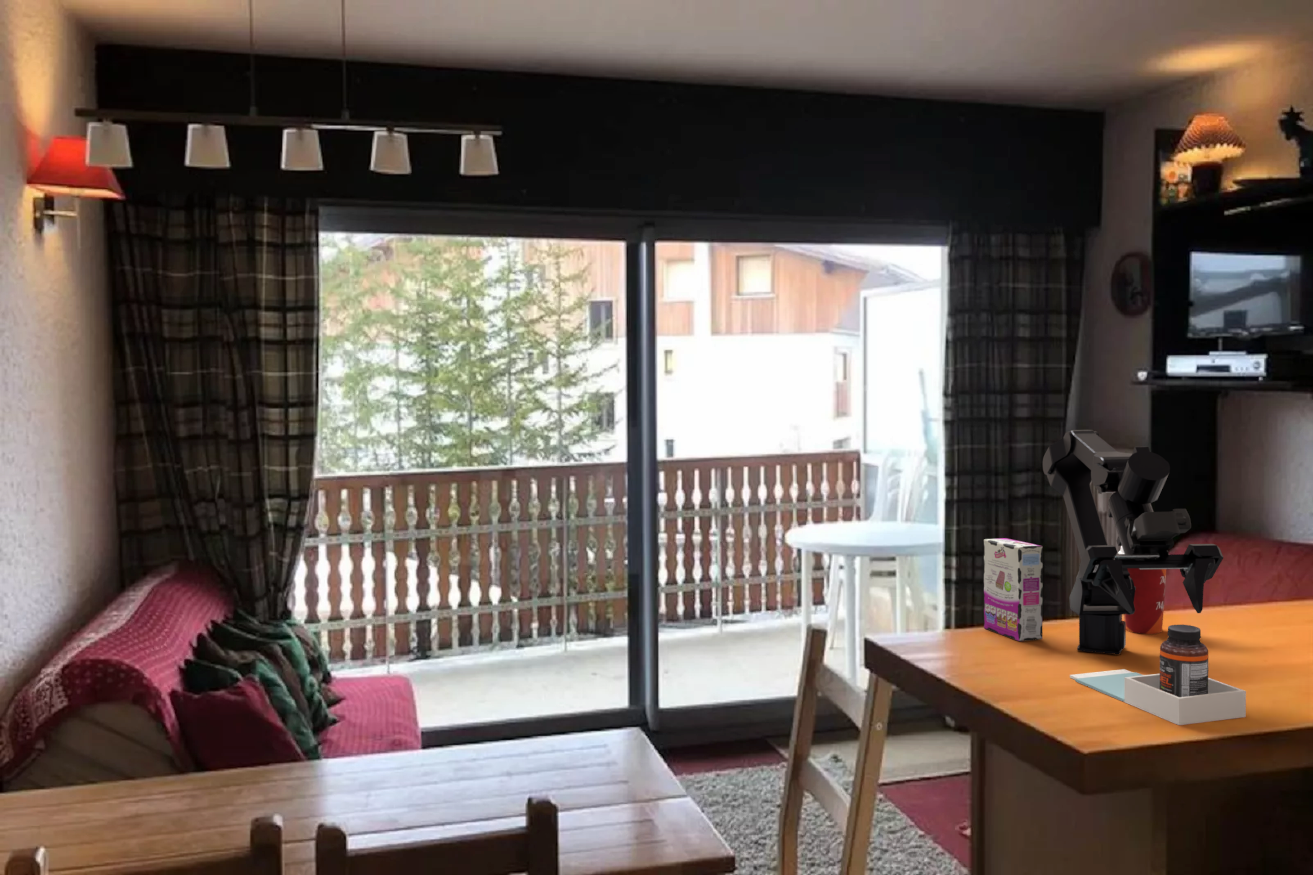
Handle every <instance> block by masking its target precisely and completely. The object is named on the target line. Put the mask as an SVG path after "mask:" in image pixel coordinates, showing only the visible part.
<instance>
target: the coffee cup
mask: <svg viewBox="0 0 1313 875" xmlns="http://www.w3.org/2000/svg"><path fill="white" fill-rule="evenodd" d="M1117 554H1124V550H1123V547H1122V546H1120V550H1119V551H1117ZM1127 569H1128V572H1129V573H1130V578H1132V580H1133V582H1134V586H1135V587H1136V590H1135V597H1134V607H1135V612H1134V614H1131V615H1127V614H1123V621H1125V622H1126V632H1130V633H1134V634H1139V635H1154V634H1156V635H1157V634H1160V633H1162V631H1163V626H1164V625H1163V621H1164V611H1165V610H1164V609H1165V595H1166V594H1165V592H1166V581H1167V580H1166V579H1167V569H1139V568H1127Z"/></svg>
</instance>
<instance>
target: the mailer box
mask: <svg viewBox="0 0 1313 875" xmlns="http://www.w3.org/2000/svg"><path fill="white" fill-rule="evenodd" d="M1069 678H1070V679H1072V680H1074V681H1075V682H1077V683H1079V684H1081V685H1083V686H1086V687H1087V686H1088V688H1090V689H1091V690H1092V689H1093V690H1095V691H1097V692H1100V693H1102V694H1104V695H1107V696H1109V697H1112V698H1114V699H1116V700H1118V701H1121V702H1123V703H1125V704H1128V705H1131V706H1132V707H1135V708H1138V709H1140V710H1142V711H1144V712H1147V713H1149V714H1151V715H1154V716H1157V717H1159V718H1161V719H1162V720H1165V721H1167V722H1171V723H1172V724H1175V725H1178V726H1183V725H1184V726H1185V725H1191V724H1200V723H1208V722H1214V721H1216V722H1217V721H1223V720H1232V719H1233V720H1234V719H1239V718H1246V717H1247V716H1246V714H1247V713H1246V708H1247V707H1246V705H1247V698H1246V697H1247V691H1246V690H1245V689H1242V688H1239V687H1236V686H1233V685H1230V684H1227V683H1225V682H1221V681H1218V680H1217V679H1213V678H1211V677H1208V694H1203V695H1195V696H1186V697H1177V696H1175V695H1172V694H1170V693H1167V692H1165V691H1162V690H1160V673H1154V674H1142V673H1139V672H1136V671H1135V672H1133V671H1130V670H1127V669H1125V668H1122V669H1115V670H1114V669H1113V670H1105V671H1096V672H1095V671H1094V672H1085V673H1076V674H1069Z"/></svg>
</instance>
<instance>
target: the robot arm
mask: <svg viewBox="0 0 1313 875" xmlns="http://www.w3.org/2000/svg"><path fill="white" fill-rule="evenodd" d="M1042 471H1043V473H1044V475H1046V477H1047V480H1048V483H1049V485H1050V487H1051V488H1052V489H1053V490H1055V491H1056V492H1057V493H1058V494H1059V495H1061V496H1062V497H1063V500H1064V503H1065V507H1066V511H1067V515H1068V518H1069V522H1070V525H1071V529H1072V532H1073V536H1074V540H1075V544H1076V547H1077V550H1078V554H1079V557H1080V563H1079V564H1078V565H1079V568H1078V572H1077V575H1076V578H1075V582H1074V584H1073V587H1072V589H1071V592H1070V594H1069V607H1070V610H1071V611H1073V612H1074V613H1075V614H1077V615H1078V620H1079V621H1078V624H1079V625H1078V626H1079V627H1078V645H1077V648H1076V651H1078V652H1087V653H1088V652H1089V653H1099V654H1108V655H1121V652H1122V650H1124V649H1125V647H1126V643H1127V640H1126V637H1127V634H1126V632H1127V630H1126V622H1125V621H1124V620H1123V618H1122V617H1123V615H1124V614H1127V615H1131V614H1134V612H1135V607H1134V597H1135V590H1136V587H1135V586H1134V582H1133V580H1132V578H1130V573H1129V572H1128V569H1127V568H1139V569H1166V570H1179V571H1180V574H1181V577H1183V578H1184V579H1183V582H1182V585H1183V587H1184V589H1185V591H1186V593H1187V596H1188V598H1189V600H1190V602H1191V605H1192V607H1193V609H1194V610H1195V612H1196V613H1197V614H1202V611H1203V610H1204V609H1203V608H1204V589H1205V588H1204V587H1205V583H1206V582H1207V581H1208V580H1210V579H1213V577H1214V576H1215V574H1216V572H1217V570H1218V568H1219V566H1220V564H1221V563H1222V561H1223V559H1224V554H1223V553H1222V551H1221V548H1220V547H1219V545H1217V544H1214V543H1189V544H1188V545H1187V547H1186V550H1185V551H1184V553H1183V554H1181V553H1180V554H1174V553H1173V554H1169V551H1168V550H1169V549H1172V548H1173V546H1174V545H1175V541H1174V539H1173V538H1175V537H1176V536H1179V535H1181V534H1185V533H1187V532H1188V531H1189V530H1190V529H1191V528H1192V523H1191V521H1192V520H1191V518H1190V515H1189V513H1188V511H1187V509H1186V508H1174V509H1172V511H1154V509H1153V506H1152V503H1153V502H1156V501H1158V499H1159V496H1160V494H1161V492H1162V489H1163V488H1164V486H1165V484H1166V481H1167V478H1168V476H1169V474H1170V471H1171V466H1170V463H1169V461H1167V460H1166V459H1165V458H1164V457H1162V456H1161V455H1159V454H1158V453H1155V452H1152V451H1151V450H1150V448H1149V446H1134V447H1133V451H1132V452H1131V453H1130V452H1129V453H1128V452H1121V451H1117V450H1116V449H1115V448H1114V447H1112V446H1111V445H1110V444H1109V443H1108V442H1107V441H1105V440H1104V439H1103V438H1101V437H1100V434H1099V431H1096V430H1095V431H1094V430H1093V429H1072V430H1070V431H1065V433H1064V436H1063V438H1061V439H1059V440H1057V441H1055V442H1054V443H1052V444H1050V445H1049V446H1048V448H1047V449H1046V452H1045V453H1044V456H1043V457H1042ZM1091 485H1093V486H1094V488H1096V490H1097V491H1098V492H1099V493H1100V494H1103V493H1105V494H1107V493H1108V494H1110V493H1111V495H1110V497H1109V499H1108V502H1107V503H1108V511H1107V517H1108V518H1110V519H1111V518H1112V519H1113V520H1112V521H1113V523H1114V525H1115V526H1114V527H1115V528H1116V531H1117V534H1118V536H1117V539H1116V543H1117V546H1118V547H1121V546H1122V547H1123V550H1124V554H1118V550H1117V547H1116V546H1115V545H1112V544H1111V545H1108V541H1107V538H1106V534H1105V532H1104V528H1103V525H1102V520H1101V517H1100V514H1099V511H1098V508H1097V504H1096V501H1095V497H1094V495H1093V494H1094V493H1093V492H1092V488H1091Z"/></svg>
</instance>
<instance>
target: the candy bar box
mask: <svg viewBox="0 0 1313 875" xmlns="http://www.w3.org/2000/svg"><path fill="white" fill-rule="evenodd" d="M1043 549H1044V548H1043V545H1039V544H1035V543H1030V542H1027V541H1026V542H1025V541H1021V540H1016V539H1011V538H1007V537H1005V538H1003V537H1002V538H1000V537H999V538H997V537H996V538H985V539H983V628H984V629H985V630H987V631H991V632H993V633H996V634H998V635H1001V636H1004V637H1007V638H1010V639H1012V640H1015V641H1017V642H1028V641H1032V642H1033V641H1040V640H1043V636H1044V635H1043V600H1044V598H1043V584H1044V583H1043V577H1044V576H1043V574H1044V573H1043V572H1044V570H1043V568H1044V566H1043V565H1044V564H1043V560H1044V558H1043V556H1044V555H1043V554H1044V553H1043V551H1044V550H1043Z"/></svg>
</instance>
